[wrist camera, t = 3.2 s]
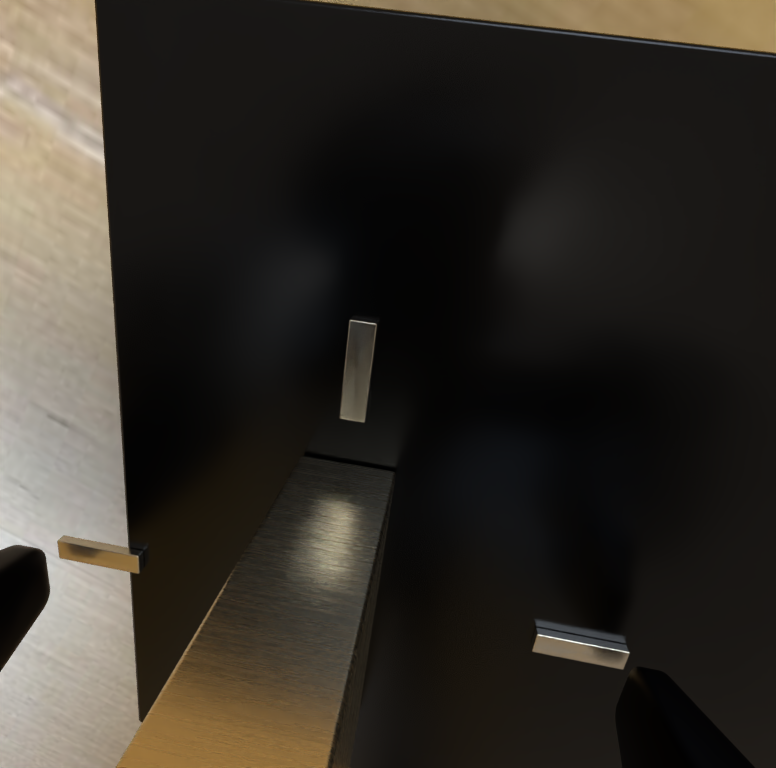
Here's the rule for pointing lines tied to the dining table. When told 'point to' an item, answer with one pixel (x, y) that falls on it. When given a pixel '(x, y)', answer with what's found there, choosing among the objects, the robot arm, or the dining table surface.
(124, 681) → the dining table surface
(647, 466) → the console
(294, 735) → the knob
